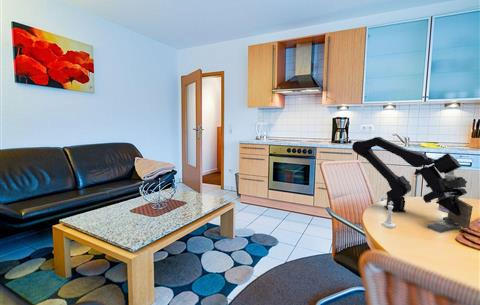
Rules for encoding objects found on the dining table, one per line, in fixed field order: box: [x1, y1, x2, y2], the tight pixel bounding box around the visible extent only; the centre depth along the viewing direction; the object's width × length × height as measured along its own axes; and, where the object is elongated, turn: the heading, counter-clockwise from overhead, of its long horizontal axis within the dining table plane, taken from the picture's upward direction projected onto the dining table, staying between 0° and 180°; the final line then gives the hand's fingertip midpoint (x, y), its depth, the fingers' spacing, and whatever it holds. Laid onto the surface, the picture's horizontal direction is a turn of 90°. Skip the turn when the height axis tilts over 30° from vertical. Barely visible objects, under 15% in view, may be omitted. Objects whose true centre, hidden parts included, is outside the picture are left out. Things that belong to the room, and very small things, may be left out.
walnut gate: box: [447, 198, 474, 229], centre depth 99 cm, size 2×12×9 cm, turn 165°
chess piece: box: [380, 201, 396, 229], centre depth 98 cm, size 5×5×10 cm
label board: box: [427, 216, 462, 234], centre depth 100 cm, size 8×18×1 cm, turn 111°
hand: (459, 215), depth 96 cm, fingers closed
